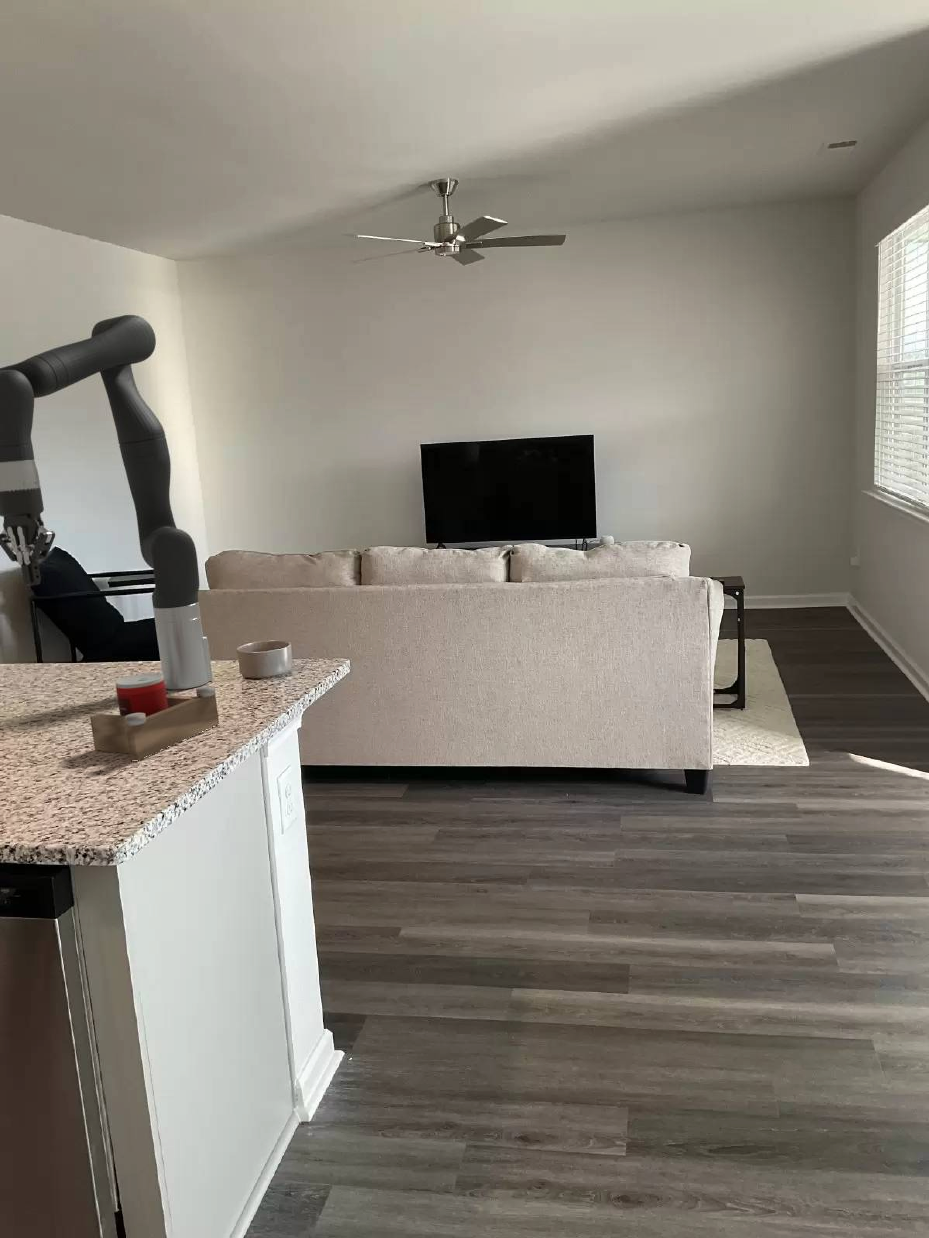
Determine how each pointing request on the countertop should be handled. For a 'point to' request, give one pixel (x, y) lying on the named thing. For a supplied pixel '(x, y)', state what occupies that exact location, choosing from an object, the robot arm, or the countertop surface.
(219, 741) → the countertop surface
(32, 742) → the countertop surface
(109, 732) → the bracket
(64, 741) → the countertop surface
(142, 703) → the canned food
